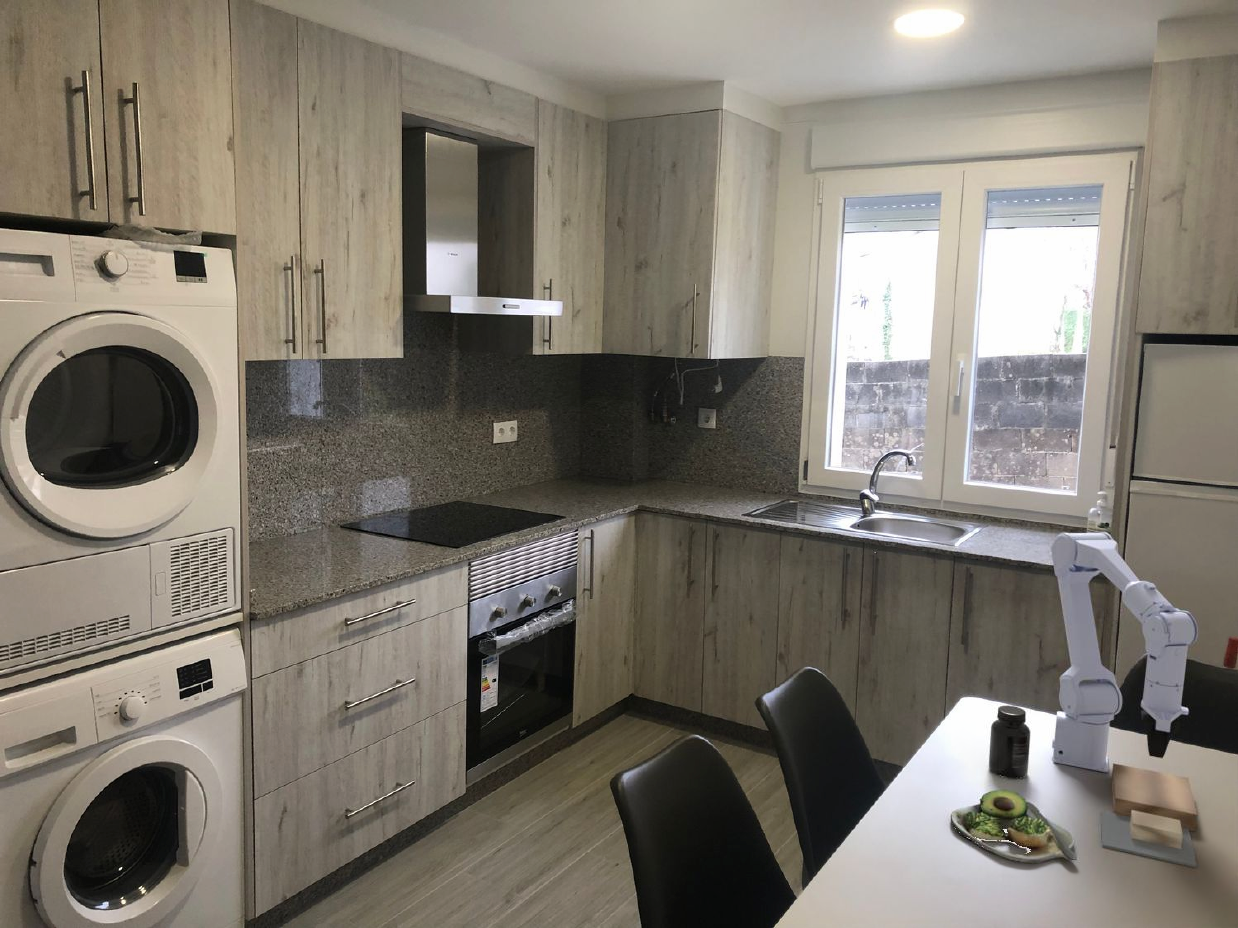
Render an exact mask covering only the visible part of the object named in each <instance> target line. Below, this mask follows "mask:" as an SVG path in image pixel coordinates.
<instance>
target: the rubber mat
mask: <svg viewBox="0 0 1238 928" xmlns="http://www.w3.org/2000/svg"><path fill="white" fill-rule="evenodd" d="M1130 821H1131V817H1130V816H1125V815H1121V814H1116V813H1114V812H1111V811H1105V810H1100V825H1101V829H1100V830H1101V847H1102V846H1103V848H1107V849H1111V850H1116V851H1121V852H1124V853H1129V854H1132V855H1133V854H1134V855H1137V856H1140V857H1141V856H1142V857H1147V858H1151V859H1154V860H1155V859H1156V860H1159V861H1165V862H1168V863H1173V864H1179V865H1182V866H1187V867H1192V868H1197V861H1196V856H1195V853H1194V847H1193V842H1192V839H1191V834H1190V831H1189V829H1187V828H1182V827H1181V829H1182V843H1181V849H1179V848H1174V847H1170V846H1165V845H1161V844H1156V843H1152V842H1147V841H1143V840H1139V839H1134V838H1131V829H1130Z"/></svg>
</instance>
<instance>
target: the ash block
mask: <svg viewBox="0 0 1238 928" xmlns="http://www.w3.org/2000/svg"><path fill="white" fill-rule="evenodd" d="M1130 829H1131V838H1134V839H1139V840H1143V841H1147V842H1152V843H1156V844H1161V845H1165V846H1170V847H1174V848H1179V849H1181V843H1182V829H1181V823H1180V820H1177V819H1172V818H1167V817H1162V816H1158V815H1153V814H1148V813H1144V812H1139V811H1134V810H1132V811H1131V821H1130Z"/></svg>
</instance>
